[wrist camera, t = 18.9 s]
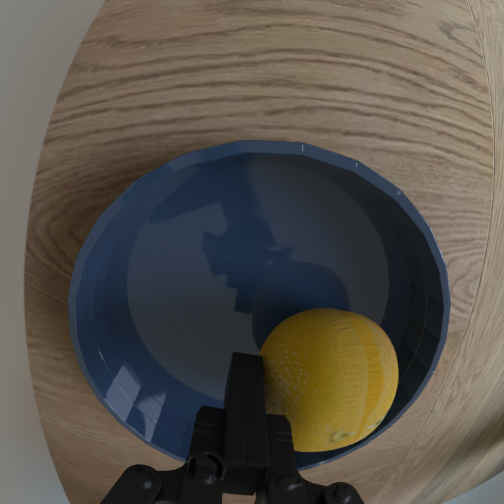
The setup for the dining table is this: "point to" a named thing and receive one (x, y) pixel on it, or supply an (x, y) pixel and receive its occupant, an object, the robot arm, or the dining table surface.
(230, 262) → the bowl
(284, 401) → the fruit
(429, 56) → the dining table surface
